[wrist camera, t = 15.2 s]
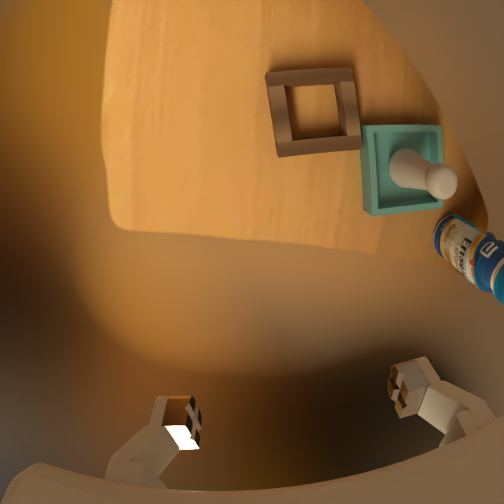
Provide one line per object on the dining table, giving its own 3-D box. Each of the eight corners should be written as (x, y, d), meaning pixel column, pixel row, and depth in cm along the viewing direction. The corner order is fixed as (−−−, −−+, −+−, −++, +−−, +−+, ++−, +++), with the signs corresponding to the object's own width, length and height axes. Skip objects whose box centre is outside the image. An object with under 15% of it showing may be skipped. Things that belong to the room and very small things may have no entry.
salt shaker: (375, 158, 40) (421, 173, 28) (404, 140, 39) (455, 149, 27) (393, 191, 42) (438, 216, 30) (419, 172, 41) (470, 192, 29)
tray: (357, 125, 39) (366, 125, 36) (429, 124, 39) (441, 125, 35) (363, 209, 44) (371, 216, 41) (431, 201, 44) (442, 207, 40)
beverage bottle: (464, 249, 47) (531, 302, 29) (431, 261, 48) (495, 323, 30) (465, 208, 44) (541, 252, 26) (430, 217, 45) (506, 269, 26)
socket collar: (264, 76, 36) (266, 72, 34) (345, 71, 36) (351, 67, 33) (277, 155, 41) (279, 157, 38) (355, 147, 41) (362, 149, 38)
